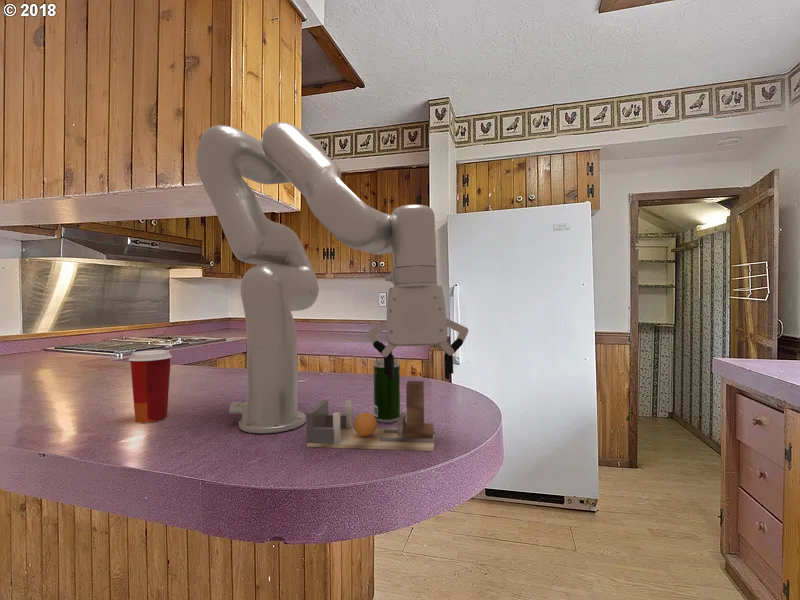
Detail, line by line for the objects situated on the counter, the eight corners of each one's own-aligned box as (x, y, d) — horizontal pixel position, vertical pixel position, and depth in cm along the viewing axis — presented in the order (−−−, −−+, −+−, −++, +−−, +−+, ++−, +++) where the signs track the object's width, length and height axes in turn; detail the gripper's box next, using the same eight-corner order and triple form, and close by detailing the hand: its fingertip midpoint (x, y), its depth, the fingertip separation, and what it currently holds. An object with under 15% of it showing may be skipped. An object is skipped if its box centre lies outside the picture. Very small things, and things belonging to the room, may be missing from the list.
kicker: (433, 430, 73) (433, 379, 73) (432, 442, 67) (431, 386, 67) (401, 429, 73) (401, 379, 73) (397, 441, 67) (396, 386, 67)
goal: (306, 443, 67) (306, 413, 67) (323, 426, 77) (323, 399, 77) (339, 444, 67) (339, 414, 67) (352, 427, 76) (352, 400, 76)
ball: (351, 439, 69) (351, 415, 69) (356, 431, 73) (356, 409, 73) (374, 440, 69) (374, 416, 69) (378, 432, 73) (378, 410, 73)
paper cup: (176, 412, 89) (175, 349, 89) (168, 422, 82) (167, 353, 82) (134, 416, 87) (134, 350, 87) (123, 426, 80) (122, 355, 80)
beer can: (382, 425, 79) (382, 363, 79) (369, 418, 83) (368, 360, 83) (405, 420, 82) (404, 360, 82) (391, 414, 86) (390, 357, 86)
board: (306, 446, 68) (306, 440, 68) (323, 429, 76) (323, 423, 76) (433, 451, 65) (433, 444, 65) (435, 432, 74) (435, 426, 74)
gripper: (361, 280, 67) (365, 383, 67) (467, 275, 65) (471, 382, 65) (370, 282, 75) (373, 375, 74) (465, 277, 73) (469, 373, 72)
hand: (419, 378), depth 70 cm, fingers open, 9 cm apart
